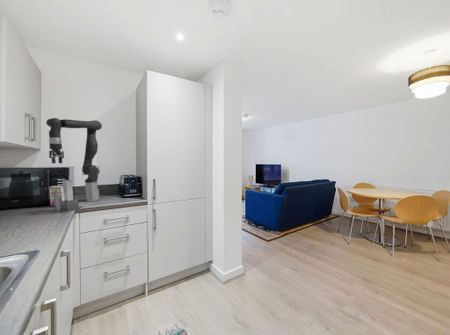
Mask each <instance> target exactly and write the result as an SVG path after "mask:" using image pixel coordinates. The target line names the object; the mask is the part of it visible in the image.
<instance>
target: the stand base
mask: <svg viewBox="0 0 450 335" xmlns="http://www.w3.org/2000/svg"><path fill="white" fill-rule="evenodd" d="M82 207H85V208H86V206H85V205H84V206H83V205H79V199H74V198H73V200H71V201H60V212H59V213H63V212H64V213H65V214H66V212H67V213H70V212H69V211H71V212H74V211H79V210H81V209H80V208H82ZM82 209H83V208H82ZM73 210H74V211H73ZM53 212H56V210H55V209H53ZM64 213H63V214H64Z"/></svg>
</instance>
